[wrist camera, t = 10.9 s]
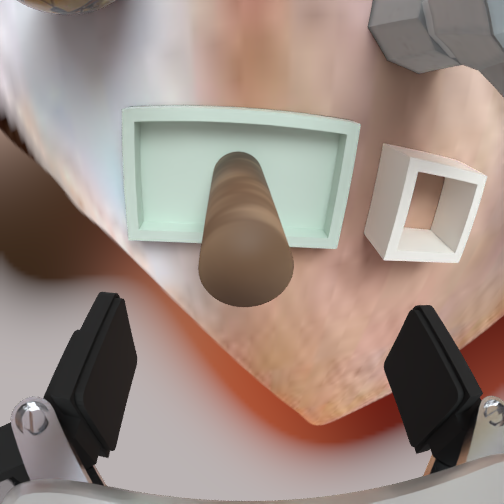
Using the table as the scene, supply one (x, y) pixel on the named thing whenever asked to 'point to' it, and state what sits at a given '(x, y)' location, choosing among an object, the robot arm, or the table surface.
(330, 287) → the table surface
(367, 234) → the white square ring
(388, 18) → the coffee maker
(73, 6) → the ceramic vessel
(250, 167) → the dowel
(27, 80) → the table surface
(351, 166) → the tray
